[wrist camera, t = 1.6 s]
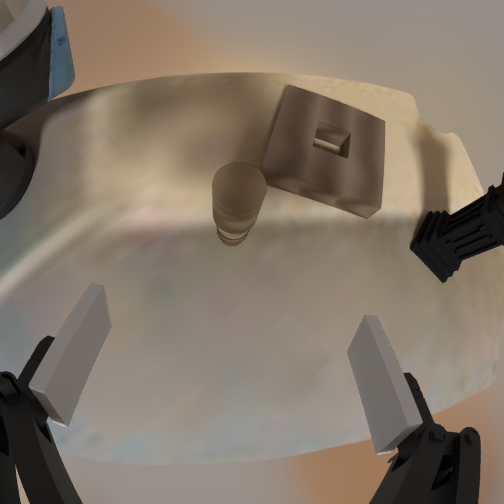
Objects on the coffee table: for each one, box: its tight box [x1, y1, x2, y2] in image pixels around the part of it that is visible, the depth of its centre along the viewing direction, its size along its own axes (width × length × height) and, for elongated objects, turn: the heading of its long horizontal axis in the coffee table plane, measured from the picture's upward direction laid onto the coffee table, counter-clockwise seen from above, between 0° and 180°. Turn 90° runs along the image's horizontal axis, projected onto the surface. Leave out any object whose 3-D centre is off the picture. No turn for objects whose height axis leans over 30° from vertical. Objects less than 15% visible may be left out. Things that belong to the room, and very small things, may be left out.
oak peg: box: [212, 162, 267, 246], centre depth 30 cm, size 4×4×13 cm
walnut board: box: [260, 85, 385, 219], centre depth 39 cm, size 16×16×4 cm
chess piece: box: [410, 173, 504, 283], centre depth 30 cm, size 8×8×20 cm
